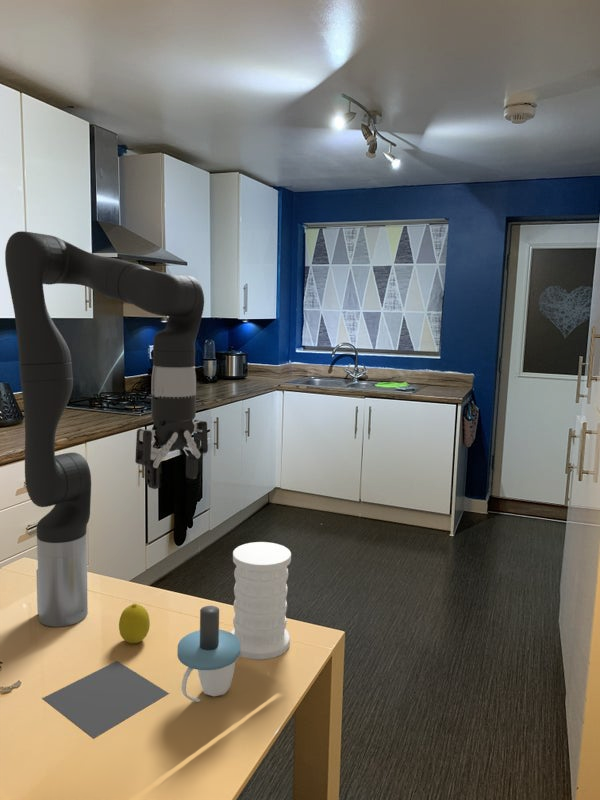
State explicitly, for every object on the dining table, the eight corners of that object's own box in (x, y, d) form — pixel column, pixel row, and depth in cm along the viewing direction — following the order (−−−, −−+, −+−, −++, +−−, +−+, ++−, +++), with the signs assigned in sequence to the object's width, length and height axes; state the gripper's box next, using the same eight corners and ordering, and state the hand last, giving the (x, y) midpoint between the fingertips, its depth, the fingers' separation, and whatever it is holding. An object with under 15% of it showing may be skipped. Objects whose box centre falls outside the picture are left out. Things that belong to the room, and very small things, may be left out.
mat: (42, 701, 98) (42, 698, 98) (117, 663, 109) (116, 660, 109) (93, 742, 90) (93, 738, 89) (169, 696, 100) (169, 693, 100)
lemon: (141, 654, 112) (141, 613, 111) (113, 649, 113) (113, 609, 112) (154, 638, 118) (154, 599, 116) (127, 634, 119) (127, 595, 117)
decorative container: (279, 664, 111) (282, 569, 108) (219, 652, 114) (221, 560, 111) (296, 632, 122) (300, 546, 119) (241, 622, 125) (244, 537, 122)
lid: (164, 653, 98) (164, 611, 97) (209, 629, 106) (210, 590, 105) (208, 678, 92) (209, 633, 91) (252, 650, 100) (254, 609, 99)
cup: (245, 695, 102) (246, 649, 100) (196, 722, 95) (196, 674, 93) (219, 676, 106) (219, 632, 105) (169, 701, 99) (170, 654, 98)
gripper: (190, 386, 114) (189, 471, 117) (125, 392, 103) (126, 486, 105) (218, 390, 110) (217, 479, 112) (154, 398, 98) (154, 496, 101)
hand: (172, 482), depth 109 cm, fingers open, 8 cm apart
